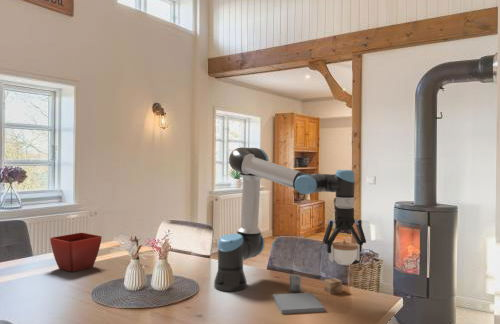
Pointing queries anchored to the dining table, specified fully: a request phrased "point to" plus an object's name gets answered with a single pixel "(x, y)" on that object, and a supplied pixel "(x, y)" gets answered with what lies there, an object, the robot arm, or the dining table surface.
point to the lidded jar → (344, 252)
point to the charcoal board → (297, 303)
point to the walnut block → (333, 286)
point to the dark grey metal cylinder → (295, 283)
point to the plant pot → (75, 251)
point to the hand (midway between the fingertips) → (344, 260)
